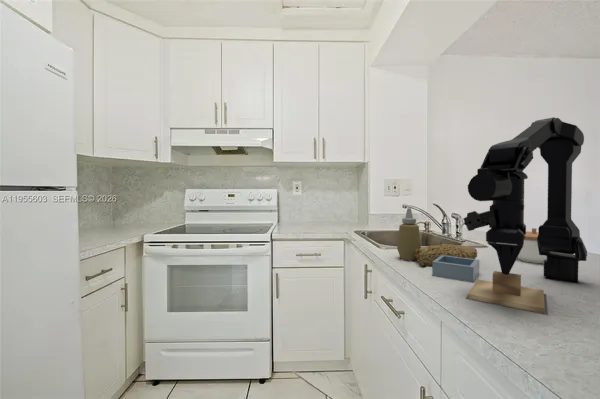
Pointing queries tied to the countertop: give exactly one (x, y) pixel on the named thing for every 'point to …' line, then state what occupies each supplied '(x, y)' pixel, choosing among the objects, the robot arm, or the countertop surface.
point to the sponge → (443, 253)
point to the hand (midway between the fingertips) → (507, 269)
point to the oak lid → (508, 292)
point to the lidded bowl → (531, 248)
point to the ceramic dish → (456, 268)
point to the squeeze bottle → (408, 237)
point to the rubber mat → (518, 308)
